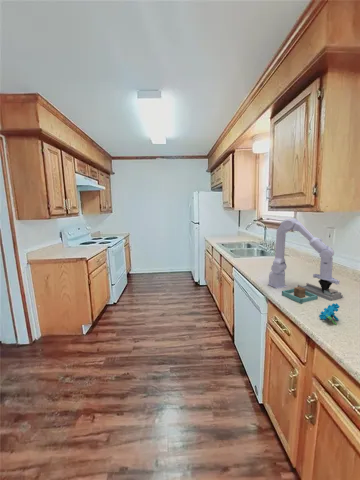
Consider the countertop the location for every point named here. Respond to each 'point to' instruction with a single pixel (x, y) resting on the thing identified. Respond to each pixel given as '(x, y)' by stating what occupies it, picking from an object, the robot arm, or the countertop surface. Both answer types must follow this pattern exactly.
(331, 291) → the light grey block
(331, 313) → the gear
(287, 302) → the countertop surface
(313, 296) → the tray
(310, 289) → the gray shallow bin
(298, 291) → the stop block
